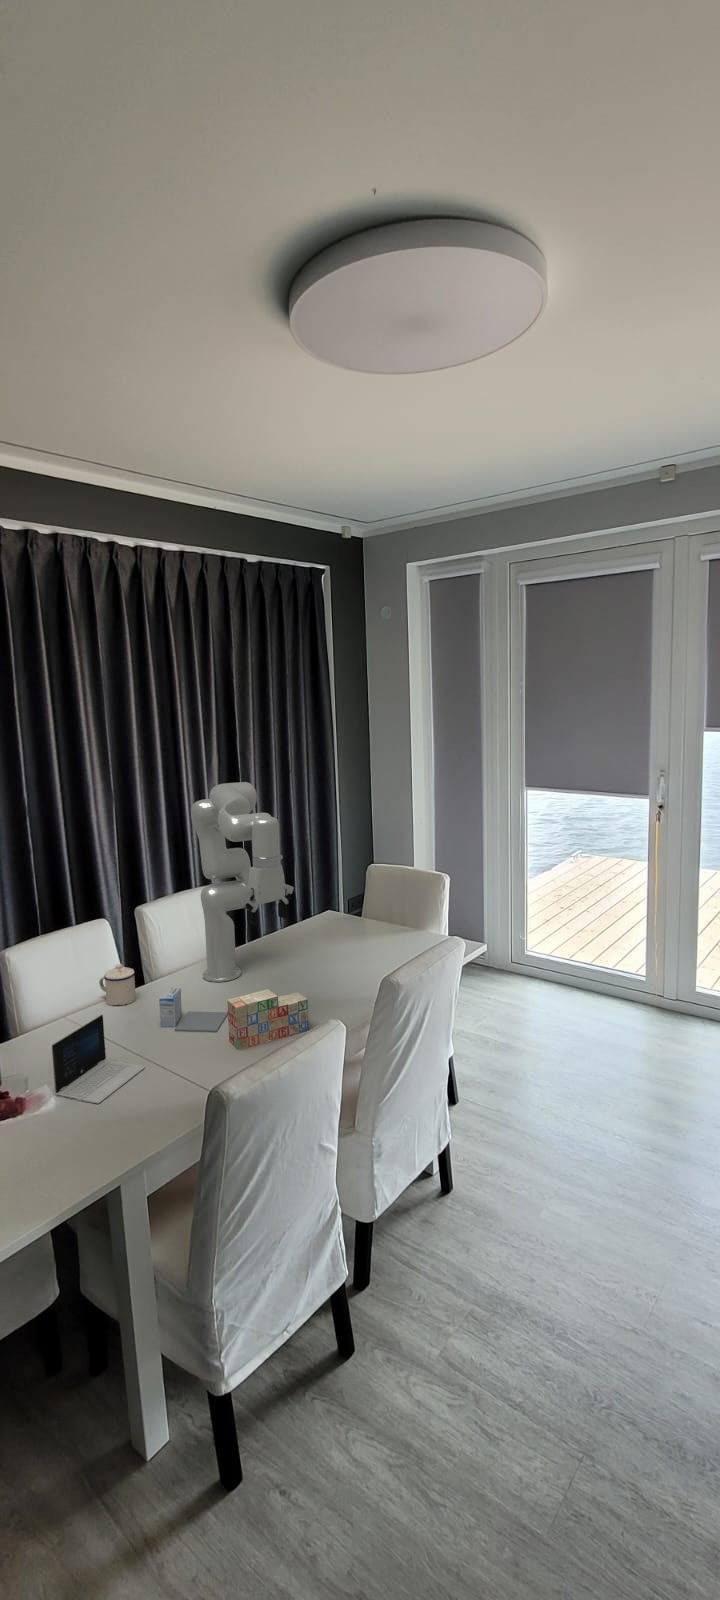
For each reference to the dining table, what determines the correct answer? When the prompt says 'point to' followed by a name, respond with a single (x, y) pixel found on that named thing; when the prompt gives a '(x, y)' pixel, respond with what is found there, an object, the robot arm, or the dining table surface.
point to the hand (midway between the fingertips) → (268, 921)
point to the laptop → (88, 1065)
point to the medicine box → (170, 1007)
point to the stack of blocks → (265, 1017)
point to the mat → (202, 1021)
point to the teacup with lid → (119, 985)
